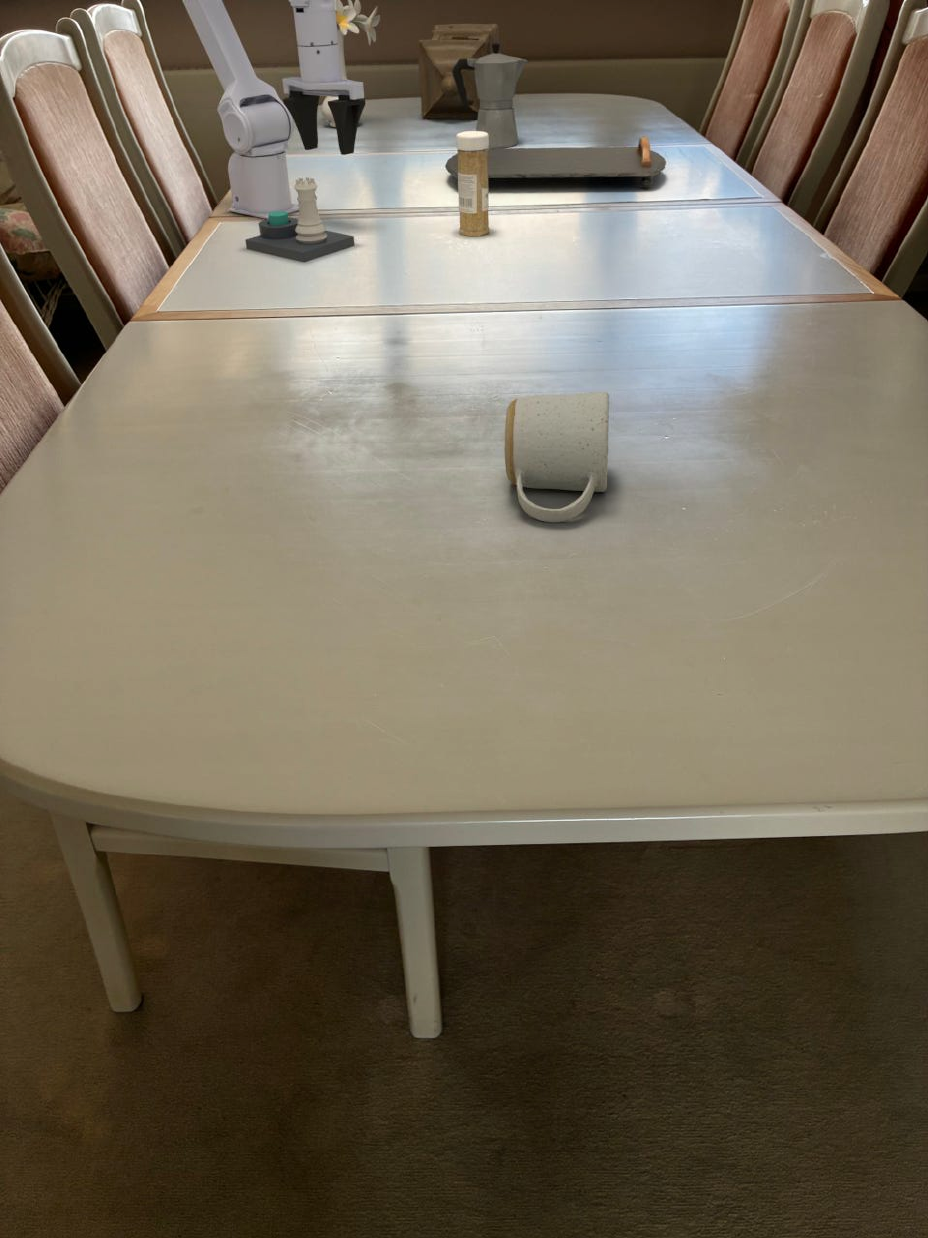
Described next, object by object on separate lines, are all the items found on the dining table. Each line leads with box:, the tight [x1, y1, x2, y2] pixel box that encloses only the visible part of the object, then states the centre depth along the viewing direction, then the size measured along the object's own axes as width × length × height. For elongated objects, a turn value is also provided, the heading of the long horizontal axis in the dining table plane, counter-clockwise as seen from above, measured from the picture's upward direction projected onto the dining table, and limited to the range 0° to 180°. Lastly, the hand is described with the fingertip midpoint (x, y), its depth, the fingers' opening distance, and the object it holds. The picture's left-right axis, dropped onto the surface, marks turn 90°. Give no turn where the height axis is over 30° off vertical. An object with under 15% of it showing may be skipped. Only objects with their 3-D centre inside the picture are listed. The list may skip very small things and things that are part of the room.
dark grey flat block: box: [245, 216, 356, 263], centre depth 137 cm, size 13×10×3 cm
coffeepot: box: [452, 42, 529, 149], centre depth 192 cm, size 15×9×18 cm, turn 103°
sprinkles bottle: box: [455, 130, 490, 237], centre depth 138 cm, size 5×5×14 cm
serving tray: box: [444, 136, 667, 190], centre depth 169 cm, size 39×23×6 cm, turn 86°
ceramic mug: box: [504, 391, 610, 523], centre depth 75 cm, size 11×8×8 cm
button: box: [268, 211, 289, 225], centre depth 138 cm, size 3×3×2 cm
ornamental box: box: [417, 23, 500, 119], centre depth 225 cm, size 35×18×18 cm, turn 172°
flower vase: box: [321, 0, 381, 128], centre depth 213 cm, size 13×18×25 cm
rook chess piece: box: [293, 176, 327, 244], centre depth 133 cm, size 4×4×8 cm
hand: (329, 151), depth 142 cm, fingers open, 7 cm apart
